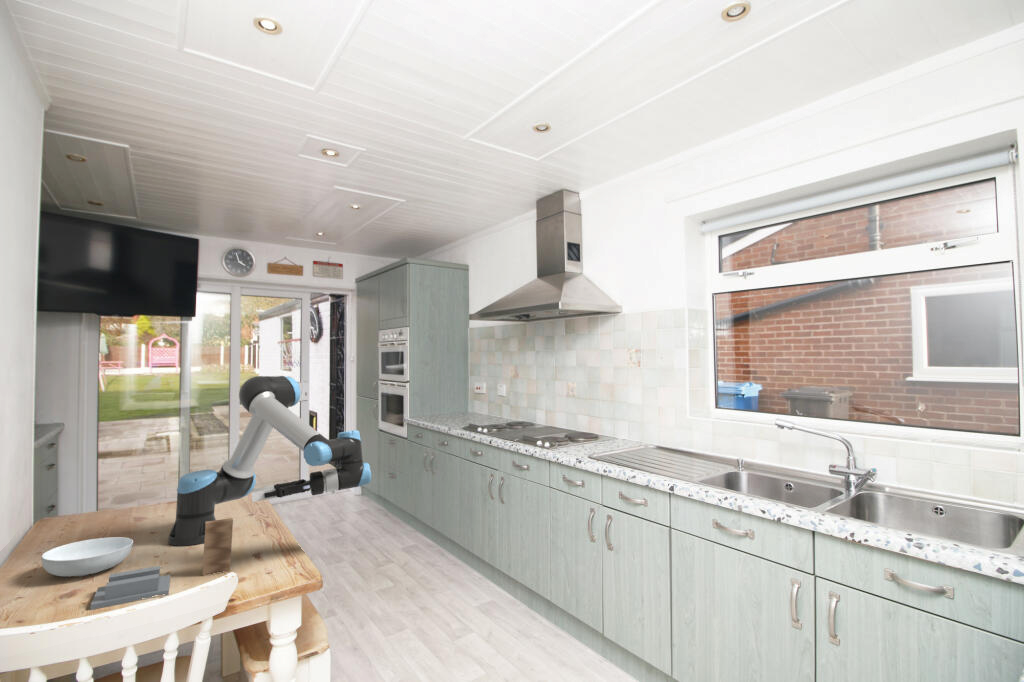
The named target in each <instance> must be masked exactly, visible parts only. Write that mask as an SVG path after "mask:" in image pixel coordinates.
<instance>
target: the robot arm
mask: <svg viewBox="0 0 1024 682" xmlns="http://www.w3.org/2000/svg"><path fill="white" fill-rule="evenodd" d="M301 393H302V392H301V389H300V385H299V383H298V381H297V380H296V379H295V378H293V377H291V376H286V375H285V376H284V375H280V376H277V375H275V376H274V375H273V376H269V375H268V376H267V375H266V376H265V375H257V376H253V377H250V378H248V379H247V380H245V381H244V382H243V383H242V385H241V386H240V389H239V393H238V396H239V397H238V399H239V402H240V404H241V406H242V407H243V408H244V409H245V410H246V411H247V412H248V413H250V414H251V415H252V416H251V418H250V419H249V422H248V424H247V426H246V428H245V430H244V431H243V433H242V435H241V438H240V440H239V441H238V443H237V445H236V447H235V449H234V451H233V453H232V455H231V458H230V459H227V460H225V461H224V462H223V463H222V465H221V468H220V469H219V471H216V470H214V469H202V470H195V471H191V472H188V473H186V474H184V475H183V476H181V477H180V478H179V479H178V484H177V488H176V492H177V493H176V494H177V495H176V496H177V497H176V508H175V509H176V511H175V513H176V514H175V521H174V523H173V525H172V527H171V530H170V532H169V535H168V542H169V543H170V544H172V545H171V546H175V545H177V546H179V547H182V546H183V547H184V546H186V545H187V546H194V544H195V545H200V544H204V543H203V542H204V540H205V523H206V522H207V521H215V520H217V519H216V516H215V505H218V504H222V503H227V502H230V501H236V500H239V499H242V498H244V497H246V496H248V495H249V494H251V502H252V503H256V502H261V501H265V500H270V499H276V498H283V497H287V496H291V495H295V494H296V495H297V494H300V493H301V494H303V493H306V492H309V491H310V493H311V496H318V495H323V494H324V493H326V494H328V493H332V494H335V492H337V491H342V490H349V489H353V488H358V487H361V486H366V485H369V484H370V483H371V481H372V470H371V466H370V464H369V463H368V462H364V460H363V450H362V440H361V435H360V431H359V430H357V429H356V430H355V429H353V430H346V431H341V432H338V433H337V437H336V438H333V439H328V438H327V437H325V436H324V435H323V434H321V433H320V432H319V431H318V430H316V429H315V428H313V427H312V426H311V425H310V424H309V423H307V422H306V421H305V420H303V419H302V418H300V417H299V416H298V415H297V414H296V413H294V412H293V411H292V410H290V409H289V408H290V407H291V408H292V407H294V406H296V405H297V404H298V403H299V402H300V400H301ZM273 429H275V431H277V432H278V433H280V435H282V436H283V437H284V438H286V439H287V440H288V441H290V442H291V443H292V444H293V445H295V447H297V448H298V449H300V450H301V451H302V452H303V454H302V455H303V459H304V460H305V462H306V464H307V465H309V466H310V467H317V466H319V467H320V466H324V465H328V464H331V463H335V462H336V463H337V462H339V465H340V467H336V468H329V469H324V470H323V471H321V470H319V471H312V472H310V473H309V480H306V479H303V478H302V479H298V480H293V481H289V482H283V483H276V484H273V485H268V486H267V485H266V486H261V487H256V488H255V486H256V482H257V480H256V478H257V477H256V476H257V475H256V473H255V472H256V470H255V467H254V466H255V464H256V462H257V460H258V458H259V456H260V454H261V452H262V451H263V448H264V446H265V445H266V443H267V440H268V438H269V436H270V435H271V433H272V431H273ZM169 543H168V544H169ZM199 543H200V544H199ZM170 544H169V545H170ZM177 546H176V547H177Z"/></svg>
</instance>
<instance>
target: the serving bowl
mask: <svg viewBox="0 0 1024 682" xmlns="http://www.w3.org/2000/svg"><path fill="white" fill-rule="evenodd" d="M133 545H134V540H133V539H132V538H131V537H130V538H129V537H126V536H125V537H121V536H113V537H111V536H109V537H99V538H90V539H86V540H80V541H74V542H71V543H67V544H64V545H60V546H57V547H54V548H51V549H48V550H47V551H45V552H44V553H43V554H41V564H42V567H43V569H44V570H45V571H46V572H47V573H49V574H51V575H53V576H55V577H71V576H79V577H86V576H90V575H89V574H91V575H95V574H98V573H101V572H103V571H106V570H107V569H110V568H113V567H115V566H117V565H118V564H120V563H121V562H123V561H124V560H125V559H126V558H127V557H128V556H129V555H130V553H131V552H132V548H133ZM100 571H101V572H100ZM97 572H98V573H97ZM94 573H95V574H94ZM85 575H86V576H85Z"/></svg>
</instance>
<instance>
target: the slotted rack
mask: <svg viewBox="0 0 1024 682" xmlns="http://www.w3.org/2000/svg"><path fill="white" fill-rule="evenodd" d="M160 574H161V565H156V566H151V567H145V568H138V569H132V570H125V571H120V572H115V573H114V572H113V573H110V574H109V577H108V582H106V583H105V584H106V585H104V586H99V587H97V589H96V592H95V593H94V596H93V599H92V600H91V603H90V606H89V610H96V609H97V610H98V609H101V608H108V607H113V606H118V605H122V604H128V603H133V602H136V601H135V600H139V599H142V598H149V597H152V596H155V595H163V594H165V595H164V596H168V595H170V594H169V593H170V583H171V574H167V575H166V574H165V575H160ZM149 599H150V598H149ZM139 601H140V600H139ZM112 605H113V606H112Z"/></svg>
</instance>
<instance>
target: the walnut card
mask: <svg viewBox="0 0 1024 682" xmlns="http://www.w3.org/2000/svg"><path fill="white" fill-rule="evenodd" d="M233 523H234V519H233V518H230V517H229V518H222V519H216V520H215V521H207V522H206V523H205V540H204V543H203V557H202V558H203V560H202V576H203V575H206V576H208V575H207V574H211V575H214V574H213V573H217V572H222V573H224V572H223V571H228V570H230V571H231V563H232V562H231V561H232V545H233V528H234V527H233V526H234V525H233ZM228 572H229V571H228ZM217 574H218V573H217Z"/></svg>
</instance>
